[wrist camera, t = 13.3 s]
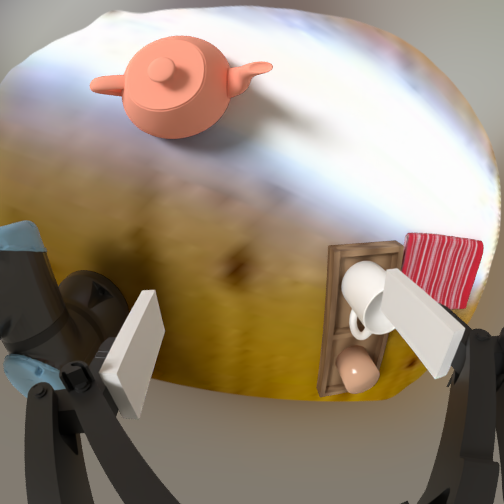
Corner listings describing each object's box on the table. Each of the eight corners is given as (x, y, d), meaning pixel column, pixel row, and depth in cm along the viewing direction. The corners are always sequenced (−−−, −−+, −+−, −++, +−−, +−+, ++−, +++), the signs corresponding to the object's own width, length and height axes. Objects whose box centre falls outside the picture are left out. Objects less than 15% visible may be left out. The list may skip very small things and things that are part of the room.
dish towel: (459, 306, 54) (465, 312, 51) (383, 312, 52) (389, 319, 49) (480, 238, 48) (487, 242, 45) (404, 229, 46) (412, 233, 43)
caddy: (316, 387, 57) (319, 397, 54) (328, 245, 45) (334, 252, 42) (369, 377, 57) (374, 385, 54) (395, 240, 46) (404, 246, 43)
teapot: (263, 46, 34) (274, 11, 22) (259, 139, 39) (271, 134, 28) (120, 54, 32) (86, 29, 21) (114, 144, 37) (75, 144, 26)
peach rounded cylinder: (333, 373, 54) (343, 396, 48) (337, 348, 52) (348, 372, 45) (363, 367, 54) (375, 388, 48) (369, 342, 52) (382, 364, 45)
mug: (361, 322, 50) (383, 355, 40) (323, 314, 49) (342, 351, 39) (388, 265, 46) (419, 292, 37) (351, 253, 45) (379, 280, 35)
